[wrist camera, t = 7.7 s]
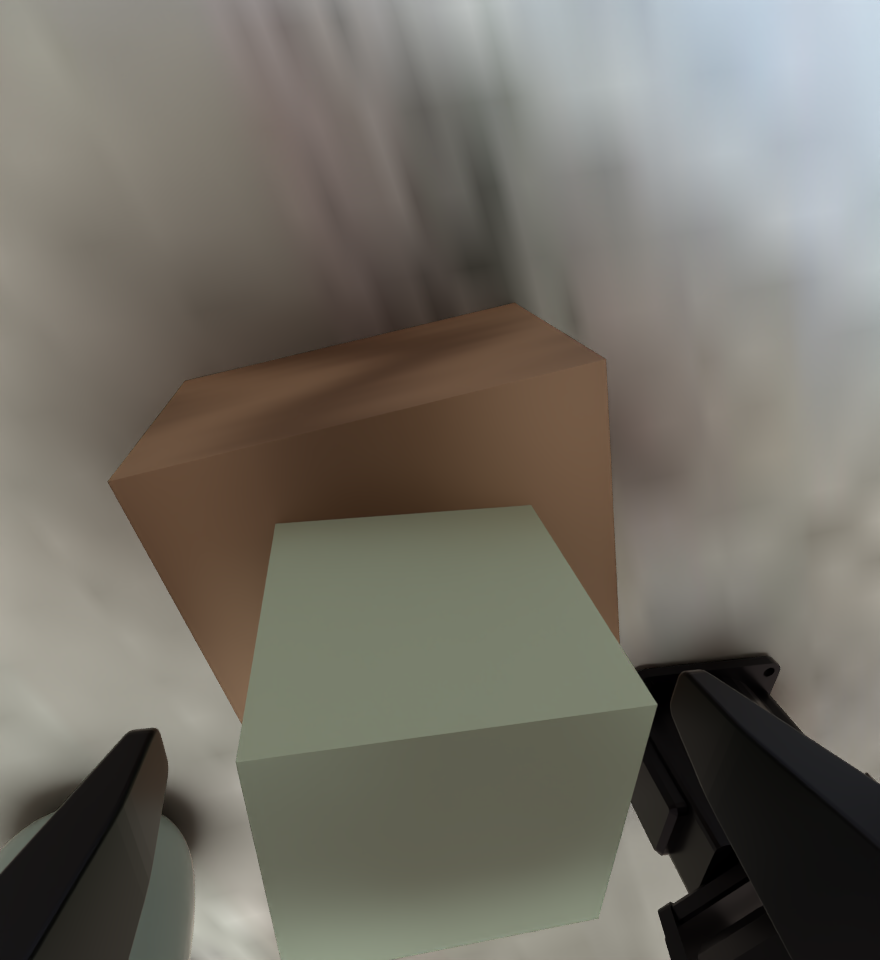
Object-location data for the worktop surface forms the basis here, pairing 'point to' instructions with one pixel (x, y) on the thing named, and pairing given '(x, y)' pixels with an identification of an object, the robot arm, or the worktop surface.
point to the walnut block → (370, 459)
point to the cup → (150, 893)
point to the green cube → (433, 735)
